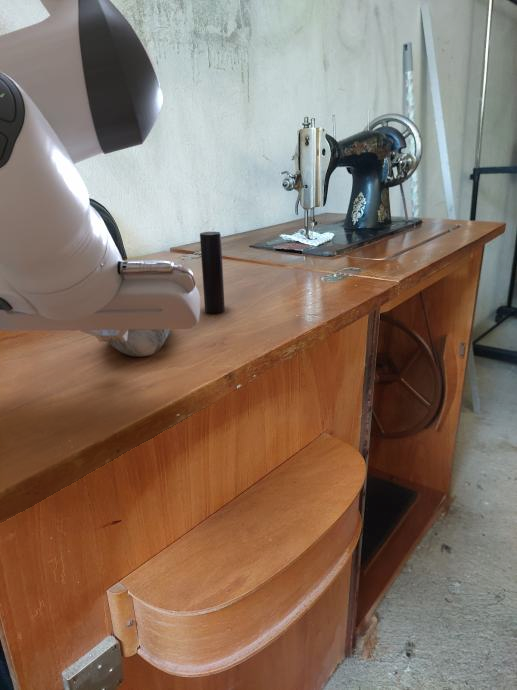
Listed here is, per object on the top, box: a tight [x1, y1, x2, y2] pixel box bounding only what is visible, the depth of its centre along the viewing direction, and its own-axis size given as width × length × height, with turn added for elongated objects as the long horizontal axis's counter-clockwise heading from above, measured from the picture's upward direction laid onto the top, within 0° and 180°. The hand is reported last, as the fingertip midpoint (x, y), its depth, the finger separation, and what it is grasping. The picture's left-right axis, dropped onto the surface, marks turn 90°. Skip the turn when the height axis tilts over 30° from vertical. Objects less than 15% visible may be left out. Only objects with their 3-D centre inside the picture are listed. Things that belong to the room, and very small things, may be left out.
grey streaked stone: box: [107, 329, 171, 358], centre depth 65 cm, size 14×10×10 cm
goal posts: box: [199, 231, 226, 315], centre depth 77 cm, size 19×3×12 cm, turn 88°
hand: (114, 335), depth 56 cm, fingers closed
